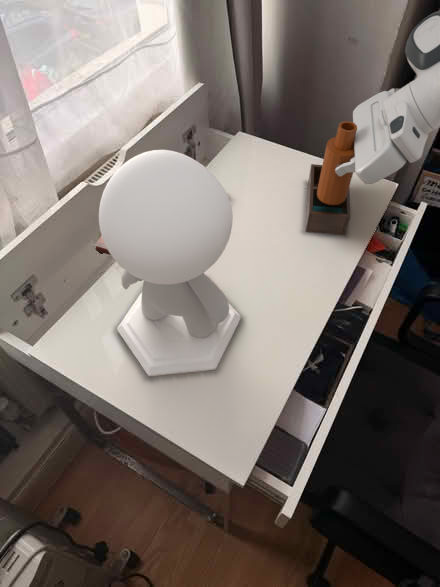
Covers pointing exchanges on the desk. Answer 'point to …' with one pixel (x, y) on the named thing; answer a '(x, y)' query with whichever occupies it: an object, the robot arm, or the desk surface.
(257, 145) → the desk surface
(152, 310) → the white cartoon figure
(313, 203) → the box
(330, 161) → the bottle
